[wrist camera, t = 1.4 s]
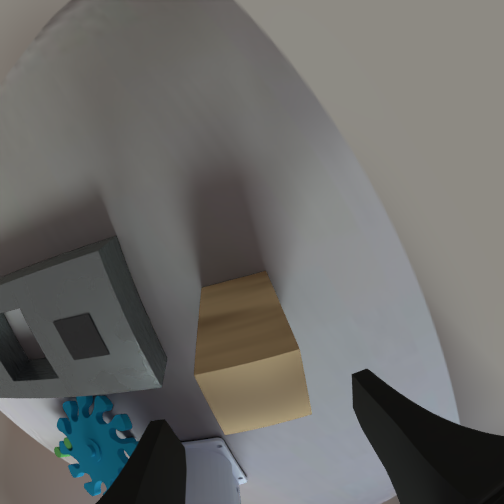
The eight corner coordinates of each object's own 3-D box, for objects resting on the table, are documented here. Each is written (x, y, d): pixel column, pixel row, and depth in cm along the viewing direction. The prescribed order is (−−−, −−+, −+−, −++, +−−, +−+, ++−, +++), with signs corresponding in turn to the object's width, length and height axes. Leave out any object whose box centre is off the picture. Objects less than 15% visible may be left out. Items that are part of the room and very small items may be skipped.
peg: (278, 325, 19) (311, 414, 12) (220, 340, 19) (225, 435, 11) (265, 270, 18) (299, 349, 10) (201, 287, 18) (193, 375, 10)
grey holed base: (167, 358, 19) (161, 388, 16) (-4, 378, 18) (-18, 397, 15) (116, 235, 16) (97, 251, 13) (-48, 298, 15) (-67, 312, 13)
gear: (117, 385, 17) (153, 513, 13) (162, 385, 23) (192, 489, 18) (38, 395, 19) (63, 495, 15) (81, 398, 24) (103, 484, 20)
